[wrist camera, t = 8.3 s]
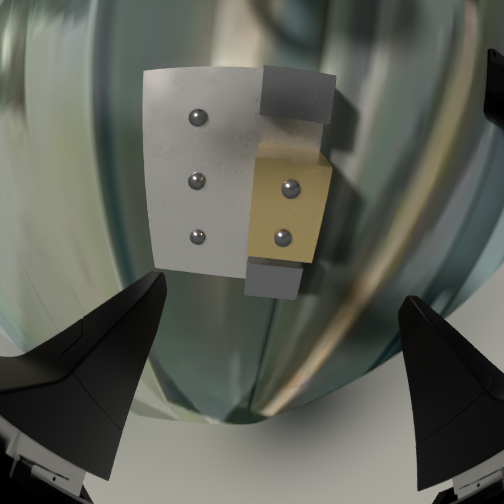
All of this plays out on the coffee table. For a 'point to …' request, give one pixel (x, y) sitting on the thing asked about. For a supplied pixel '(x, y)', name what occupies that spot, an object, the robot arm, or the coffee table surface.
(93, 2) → the coffee table surface
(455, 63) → the coffee table surface
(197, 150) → the steel hinge plate
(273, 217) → the block
